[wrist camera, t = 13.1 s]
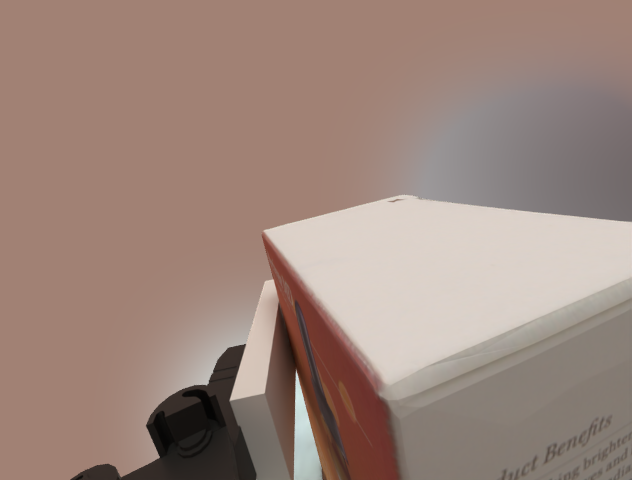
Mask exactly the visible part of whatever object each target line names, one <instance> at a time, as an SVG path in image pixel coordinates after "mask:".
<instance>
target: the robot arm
mask: <svg viewBox="0 0 632 480" xmlns="http://www.w3.org/2000/svg"><path fill="white" fill-rule="evenodd" d="M295 381H296V365H295V361H294V358H293V354H292V350H291V346H290V342H289V338H288V334H287V330H286V326H285V322H284V318H283V314H282V310H281V306H280V303H279V299H278V295H277V291H276V287H275V283H274V279H273V280H268V281H265V283H264V286H263V290H262V293H261V297H260V300H259V303H258V306H257V310H256V313H255V317H254V320H253V323H252V327H251V330H250V334H249V337H248V340H247V344H244V345H239V346H234V347H230V348H228V349H227V350H226V351H225V352H224V353H223V354H222V356H221V357H220V358H219V359H218V361H217V363H216V365H215V368H214V370H213V374H212V375H211V377H210V380H209V384H208V385H207V386H206V385H194V386H191V387H188V388H185V389H182V390H180V391H178V392H176V393H175V394H173V395H171V396H169V397H168V398H167V399H166V400H165V401H163V402H162V403H161V404H160V405H159V406H158V407H157V408H156V409H155V410H154V412H153V413H152V414H151V415H150V418H149V420H148V422H147V425H146V427H147V429H148V431H149V433H150V436H151V438H152V440H153V443H154V445H155V447H156V449H157V451H158V454H159V456H160V458H159V459H157V460H155V461H153V462H152V463H150V464H148V465H146V466H144V467H141V468H139V469H137V470H135V471H133V472H131V473H130V474H127V475H125V476H123V477H120V475H119V473H118V471H117V469H116V467H114V466H112V465H110V464H103V465H97V466H94V467H92V468H90V469H87V470H85V471H83V472H81V473H80V474H78V475H77V476H75V477H74V478H72V479H71V480H256V479H257V480H294V431H295Z"/></svg>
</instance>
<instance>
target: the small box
mask: <svg viewBox="0 0 632 480" xmlns="http://www.w3.org/2000/svg"><path fill="white" fill-rule="evenodd" d="M262 238H263V242H264V246H265V249H266V253H267V257H268V260H269V264H270V268H271V271H272V276H273V279H274V283H275V287H276V291H277V295H278V299H279V303H280V306H281V310H282V314H283V318H284V322H285V326H286V330H287V334H288V338H289V342H290V346H291V350H292V354H293V358H294V361H295V365H296V370H297V373H298V377H299V381H300V385H301V389H302V393H303V397H304V401H305V405H306V409H307V412H308V416H309V420H310V424H311V428H312V432H313V436H314V439H315V443H316V447H317V451H318V455H319V459H320V462H321V466H322V468H323V471H324V473H325V476H326V479H327V480H632V222H622V221H612V220H603V219H593V218H584V217H575V216H565V215H554V214H546V213H545V214H544V213H536V212H527V211H518V210H509V209H500V208H491V207H483V206H475V205H466V204H459V203H450V202H442V201H435V200H427V199H422V198H419V197H416V196H410V195H400V196H396V197H392V198H388V199H383V200H379V201H376V202H372V203H368V204H364V205H360V206H356V207H352V208H349V209H344V210H341V211H338V212H333V213H329V214H325V215H321V216H317V217H313V218H309V219H306V220H301V221H297V222H293V223H289V224H286V225H282V226H279V227H275V228H272V229H268V230H264V231H263V232H262Z"/></svg>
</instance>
